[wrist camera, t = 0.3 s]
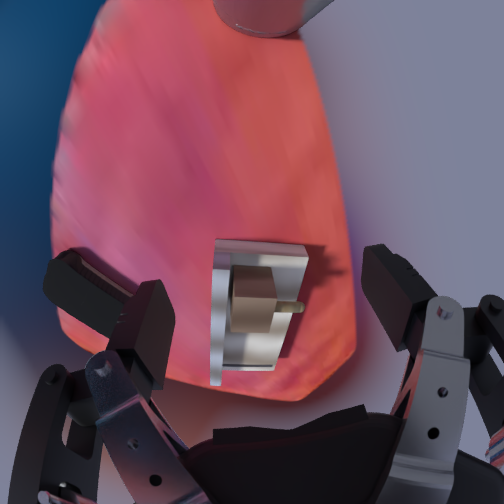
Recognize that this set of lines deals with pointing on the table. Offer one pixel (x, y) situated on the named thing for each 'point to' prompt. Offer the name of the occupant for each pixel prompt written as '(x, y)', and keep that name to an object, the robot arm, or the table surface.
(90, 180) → the table surface
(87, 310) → the black sponge
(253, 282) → the brown block with peg
